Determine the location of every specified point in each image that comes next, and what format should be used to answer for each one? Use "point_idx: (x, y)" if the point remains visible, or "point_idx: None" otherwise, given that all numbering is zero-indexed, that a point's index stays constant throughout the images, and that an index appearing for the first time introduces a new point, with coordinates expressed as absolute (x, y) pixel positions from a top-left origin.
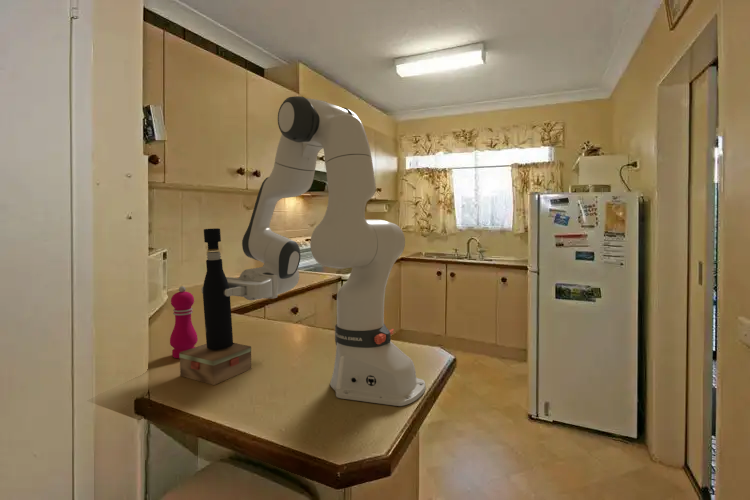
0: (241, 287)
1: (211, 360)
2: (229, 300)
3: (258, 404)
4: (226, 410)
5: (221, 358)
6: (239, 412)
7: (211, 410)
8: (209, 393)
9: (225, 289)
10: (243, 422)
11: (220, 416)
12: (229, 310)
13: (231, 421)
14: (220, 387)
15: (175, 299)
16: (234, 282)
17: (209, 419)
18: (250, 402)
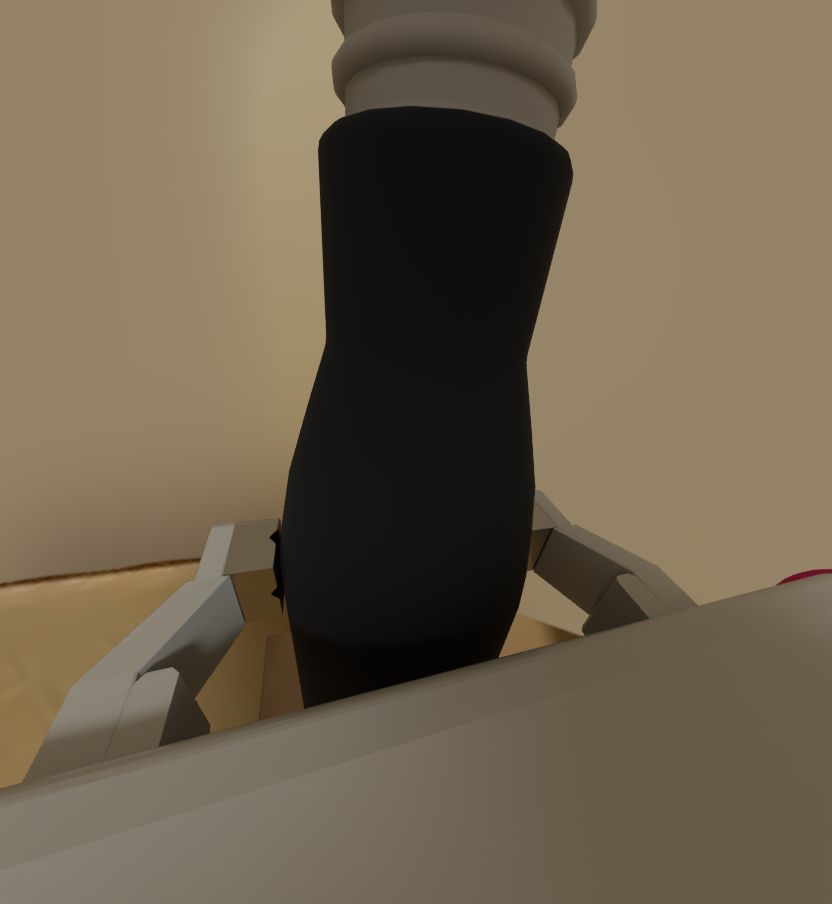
0: (64, 714)
1: (279, 636)
2: (303, 672)
3: (12, 699)
4: (119, 614)
5: (263, 679)
6: (68, 629)
7: (164, 592)
8: (244, 638)
9: (244, 522)
10: (28, 607)
11: (118, 590)
12: (304, 704)
13: (70, 593)
14: (244, 685)
15: (792, 577)
16: (347, 722)
17: (139, 570)
18: (55, 689)
